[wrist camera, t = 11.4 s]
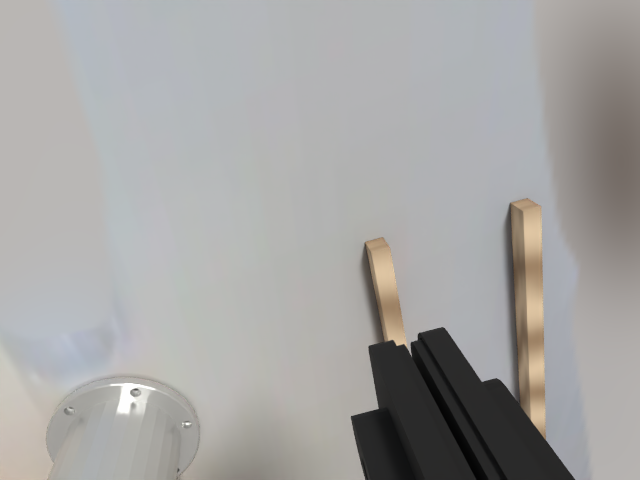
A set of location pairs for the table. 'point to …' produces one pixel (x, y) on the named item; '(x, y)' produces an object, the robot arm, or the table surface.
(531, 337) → the guide channel
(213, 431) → the table surface
